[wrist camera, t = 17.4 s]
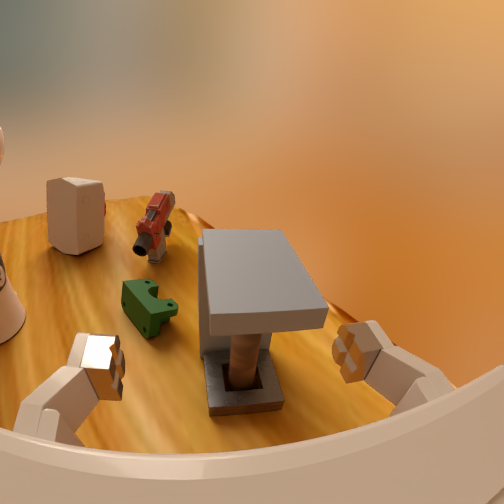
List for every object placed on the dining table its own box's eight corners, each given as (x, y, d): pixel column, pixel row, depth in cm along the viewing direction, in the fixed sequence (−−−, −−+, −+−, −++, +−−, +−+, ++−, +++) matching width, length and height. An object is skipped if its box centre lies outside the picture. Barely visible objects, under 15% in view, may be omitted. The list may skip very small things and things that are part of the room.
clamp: (168, 342, 52) (186, 316, 48) (141, 349, 48) (155, 323, 43) (143, 292, 57) (157, 262, 53) (117, 296, 53) (128, 265, 48)
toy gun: (141, 279, 67) (125, 233, 56) (166, 223, 81) (159, 178, 70) (156, 282, 67) (143, 235, 56) (179, 224, 81) (173, 179, 70)
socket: (209, 416, 35) (209, 407, 34) (203, 362, 44) (203, 352, 43) (281, 409, 37) (284, 400, 36) (266, 359, 46) (268, 348, 45)
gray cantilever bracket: (207, 435, 32) (204, 314, 23) (199, 349, 46) (198, 228, 36) (290, 426, 35) (334, 307, 25) (265, 345, 48) (284, 229, 38)
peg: (229, 397, 38) (234, 339, 33) (226, 378, 42) (230, 319, 36) (254, 395, 39) (264, 338, 34) (250, 376, 42) (258, 318, 37)
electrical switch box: (116, 244, 79) (118, 174, 72) (78, 260, 65) (76, 180, 58) (85, 234, 83) (85, 170, 76) (49, 246, 69) (46, 176, 62)
